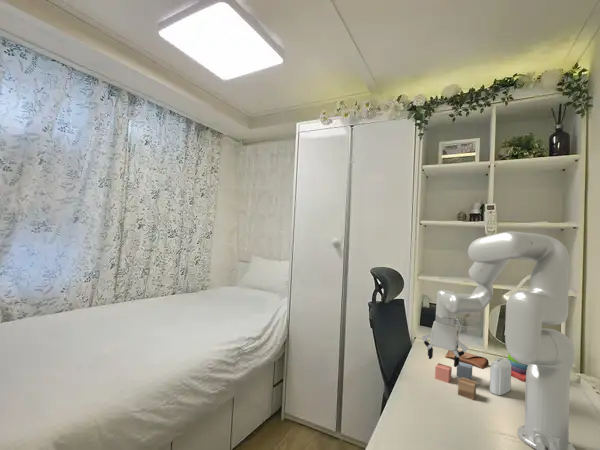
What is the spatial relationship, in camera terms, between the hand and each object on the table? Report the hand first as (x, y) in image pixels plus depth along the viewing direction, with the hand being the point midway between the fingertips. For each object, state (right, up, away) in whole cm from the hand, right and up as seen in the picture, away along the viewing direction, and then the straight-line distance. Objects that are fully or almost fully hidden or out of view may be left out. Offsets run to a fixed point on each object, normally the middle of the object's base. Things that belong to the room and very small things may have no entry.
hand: (442, 362), depth 121 cm
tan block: (+2, -6, -14) cm, 15 cm away
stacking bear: (+38, -10, +8) cm, 41 cm away
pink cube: (0, -7, -1) cm, 7 cm away
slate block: (+11, -8, +3) cm, 13 cm away
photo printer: (+18, -8, -8) cm, 21 cm away
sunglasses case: (+22, -11, +22) cm, 33 cm away
